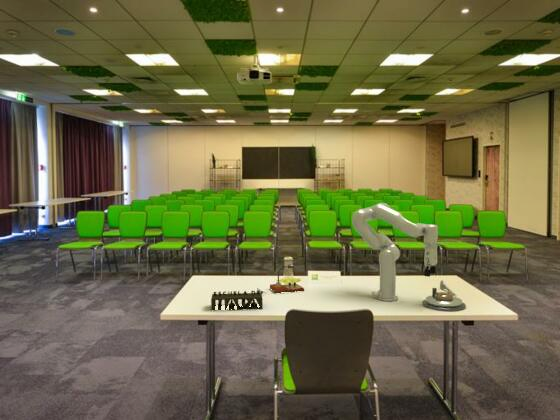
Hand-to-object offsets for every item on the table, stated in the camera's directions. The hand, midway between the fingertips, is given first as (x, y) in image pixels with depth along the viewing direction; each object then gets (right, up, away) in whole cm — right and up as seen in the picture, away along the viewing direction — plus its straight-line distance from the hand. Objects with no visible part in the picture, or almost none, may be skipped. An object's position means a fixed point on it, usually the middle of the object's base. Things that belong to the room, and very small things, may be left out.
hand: (429, 274), depth 283 cm
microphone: (-88, -16, +36) cm, 97 cm away
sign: (-113, -19, -3) cm, 115 cm away
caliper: (+20, -16, +29) cm, 39 cm away
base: (+7, -18, -2) cm, 19 cm away
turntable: (+7, -16, -2) cm, 18 cm away
